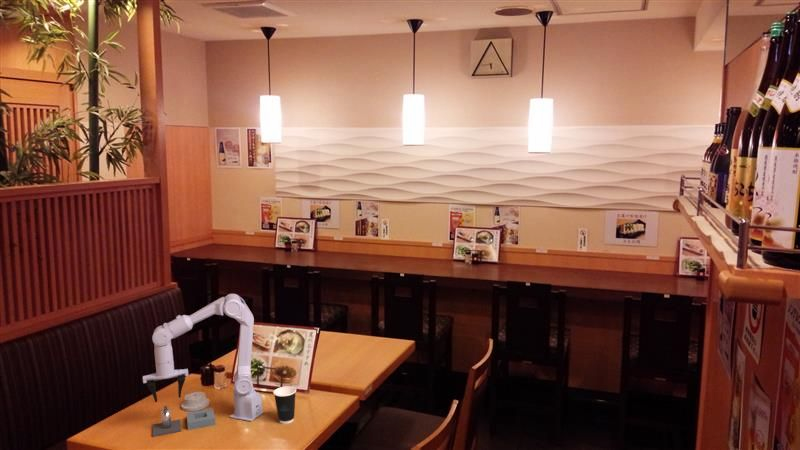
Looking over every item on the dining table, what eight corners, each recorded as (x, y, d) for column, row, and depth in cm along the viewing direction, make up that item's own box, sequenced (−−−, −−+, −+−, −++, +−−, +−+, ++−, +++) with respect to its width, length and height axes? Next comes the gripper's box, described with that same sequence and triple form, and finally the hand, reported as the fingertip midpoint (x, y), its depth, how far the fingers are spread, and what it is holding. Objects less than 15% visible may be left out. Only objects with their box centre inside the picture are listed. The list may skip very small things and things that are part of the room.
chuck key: (171, 422, 208) (169, 404, 207) (171, 429, 203) (170, 410, 202) (162, 424, 207) (160, 405, 206) (162, 431, 202) (160, 412, 201)
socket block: (213, 414, 215) (212, 407, 214) (215, 424, 206) (214, 418, 206) (187, 419, 211) (186, 412, 211) (188, 430, 203) (187, 423, 203)
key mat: (180, 420, 211) (180, 419, 211) (181, 431, 202) (180, 429, 202) (153, 425, 207) (153, 424, 207) (152, 437, 199) (152, 435, 199)
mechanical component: (176, 411, 219) (200, 412, 217) (175, 399, 219) (199, 401, 217) (190, 400, 229) (214, 401, 227) (190, 389, 228) (213, 390, 226)
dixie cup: (292, 413, 213) (290, 384, 212) (301, 421, 207) (300, 391, 205) (271, 420, 209) (269, 390, 207) (280, 428, 202) (278, 397, 201)
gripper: (186, 354, 209) (189, 390, 211) (141, 360, 204) (145, 398, 206) (187, 360, 203) (190, 397, 205) (141, 367, 198) (145, 406, 199)
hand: (167, 398), depth 205 cm, fingers open, 7 cm apart
